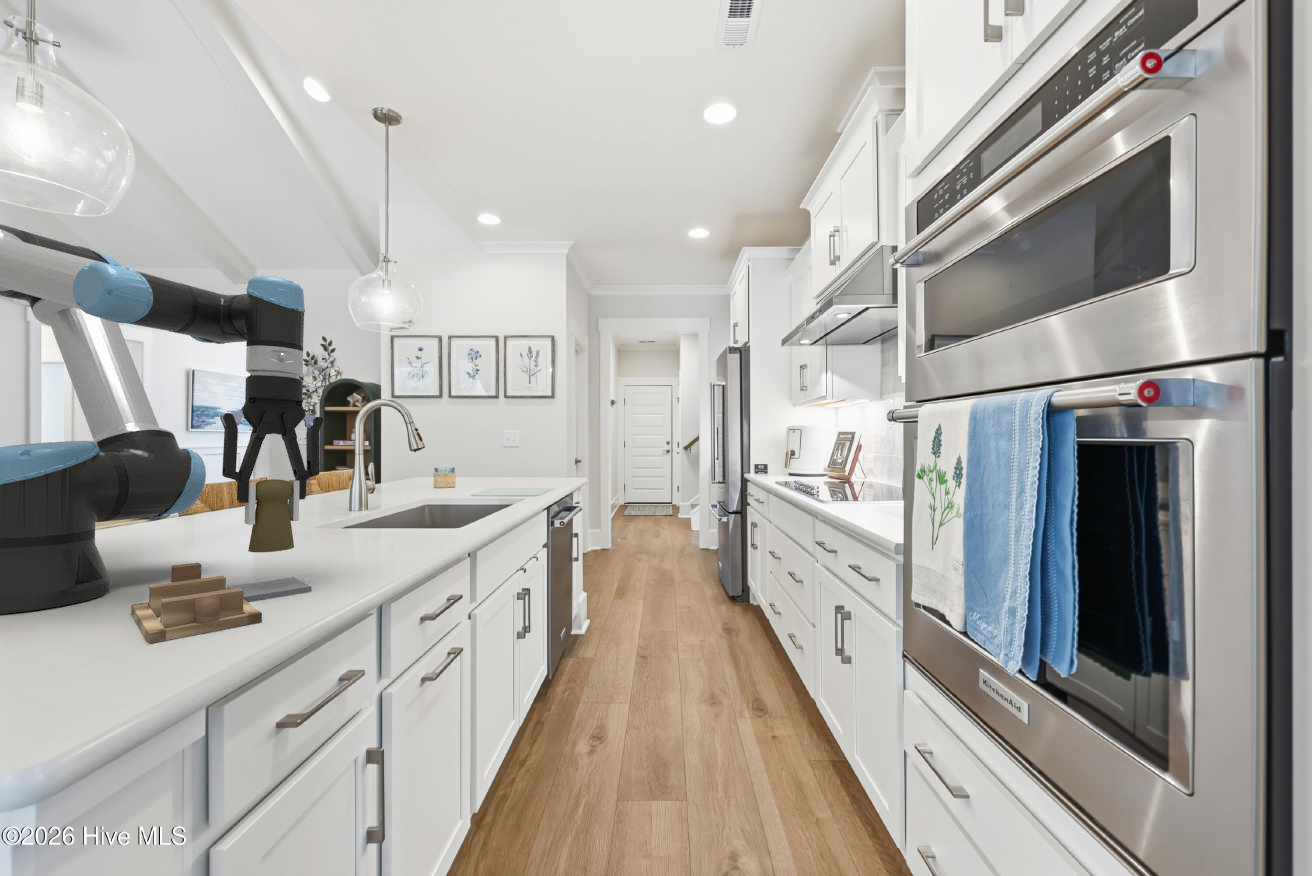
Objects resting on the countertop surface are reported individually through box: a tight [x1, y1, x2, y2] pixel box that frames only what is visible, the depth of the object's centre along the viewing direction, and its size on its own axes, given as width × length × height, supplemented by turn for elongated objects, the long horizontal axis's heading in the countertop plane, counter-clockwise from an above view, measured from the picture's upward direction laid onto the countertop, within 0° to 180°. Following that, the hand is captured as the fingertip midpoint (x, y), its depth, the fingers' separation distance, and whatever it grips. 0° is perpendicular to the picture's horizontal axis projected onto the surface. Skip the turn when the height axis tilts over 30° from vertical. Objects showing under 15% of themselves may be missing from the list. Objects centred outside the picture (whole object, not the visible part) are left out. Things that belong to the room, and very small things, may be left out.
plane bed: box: [130, 562, 263, 644], centre depth 74 cm, size 17×11×6 cm, turn 49°
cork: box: [248, 478, 295, 553], centre depth 87 cm, size 6×6×11 cm
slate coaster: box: [227, 576, 312, 603], centre depth 87 cm, size 9×9×1 cm
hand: (272, 521), depth 87 cm, fingers closed on cork, 5 cm apart
